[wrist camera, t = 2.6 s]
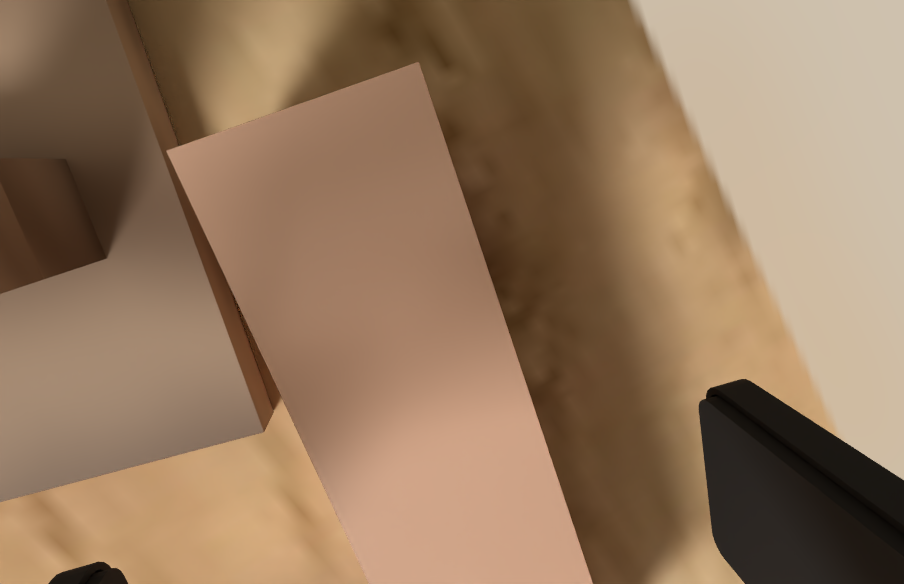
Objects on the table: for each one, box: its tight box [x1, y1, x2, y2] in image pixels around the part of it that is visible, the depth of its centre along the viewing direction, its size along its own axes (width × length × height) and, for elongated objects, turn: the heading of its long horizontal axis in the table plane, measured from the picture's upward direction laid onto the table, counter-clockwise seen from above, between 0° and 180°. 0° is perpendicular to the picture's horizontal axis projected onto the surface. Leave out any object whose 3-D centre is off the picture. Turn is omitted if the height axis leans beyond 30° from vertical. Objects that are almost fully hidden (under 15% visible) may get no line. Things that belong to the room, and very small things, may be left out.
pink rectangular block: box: [167, 62, 593, 584], centre depth 12 cm, size 16×4×5 cm, turn 19°
